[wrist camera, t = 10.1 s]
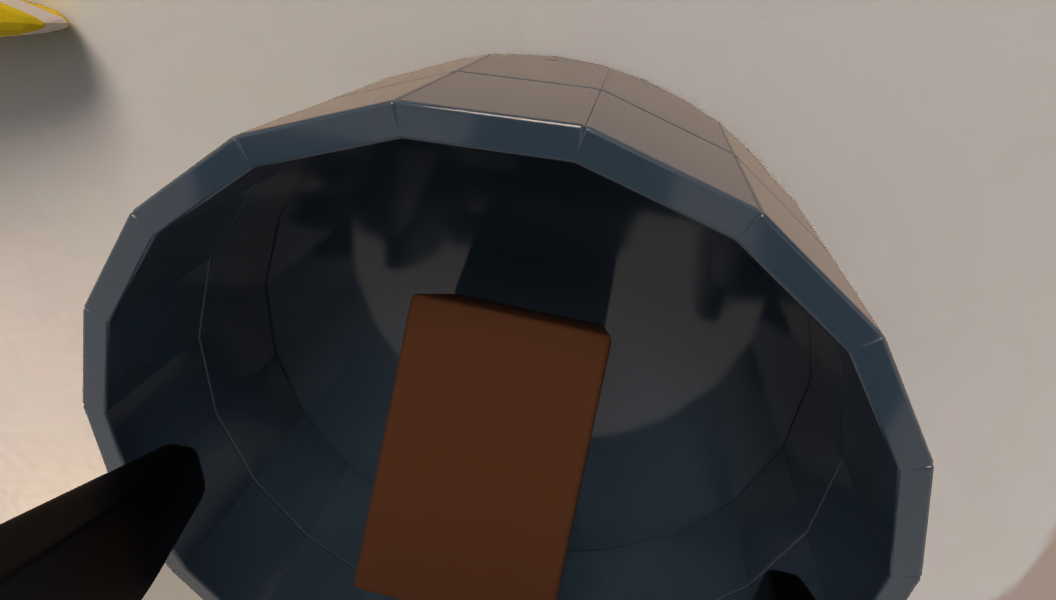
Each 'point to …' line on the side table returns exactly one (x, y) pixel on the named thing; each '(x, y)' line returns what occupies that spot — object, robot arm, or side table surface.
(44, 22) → the game controller
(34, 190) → the side table surface
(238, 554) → the bowl
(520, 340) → the chocolate ice cream bar
